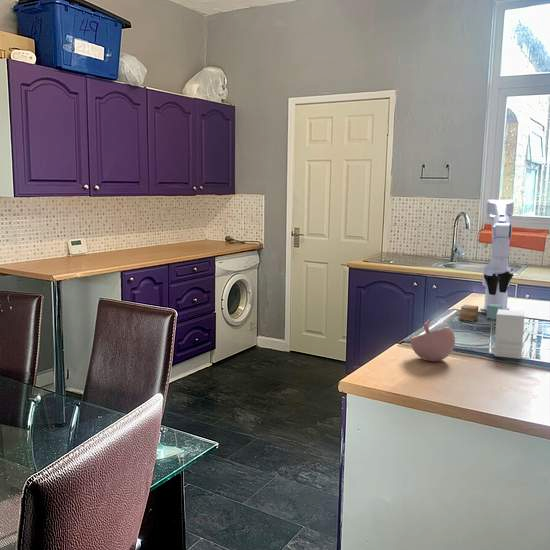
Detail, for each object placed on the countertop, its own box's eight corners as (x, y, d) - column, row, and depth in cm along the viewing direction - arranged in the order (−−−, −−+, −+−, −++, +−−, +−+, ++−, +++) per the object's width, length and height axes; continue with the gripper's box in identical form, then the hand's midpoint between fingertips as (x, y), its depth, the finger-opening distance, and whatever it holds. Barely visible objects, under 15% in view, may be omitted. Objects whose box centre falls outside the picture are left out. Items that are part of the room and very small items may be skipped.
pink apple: (423, 351, 166) (425, 313, 165) (461, 360, 158) (463, 320, 156) (401, 360, 158) (402, 320, 156) (439, 370, 150) (442, 328, 148)
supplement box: (521, 352, 166) (525, 310, 164) (521, 359, 159) (524, 316, 157) (495, 349, 169) (497, 308, 167) (493, 356, 162) (496, 313, 160)
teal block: (490, 316, 212) (491, 303, 211) (501, 318, 209) (502, 305, 208) (486, 318, 209) (487, 305, 208) (497, 320, 206) (497, 306, 205)
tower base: (465, 317, 211) (465, 311, 210) (478, 319, 207) (478, 313, 207) (459, 319, 207) (459, 313, 207) (472, 322, 204) (472, 315, 203)
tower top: (464, 311, 210) (464, 304, 210) (478, 312, 208) (478, 306, 207) (460, 313, 206) (461, 307, 206) (474, 315, 203) (475, 308, 203)
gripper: (500, 259, 196) (497, 297, 198) (520, 256, 205) (517, 292, 207) (481, 257, 201) (479, 294, 203) (501, 254, 210) (499, 290, 212)
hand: (497, 293), depth 205 cm, fingers open, 7 cm apart
